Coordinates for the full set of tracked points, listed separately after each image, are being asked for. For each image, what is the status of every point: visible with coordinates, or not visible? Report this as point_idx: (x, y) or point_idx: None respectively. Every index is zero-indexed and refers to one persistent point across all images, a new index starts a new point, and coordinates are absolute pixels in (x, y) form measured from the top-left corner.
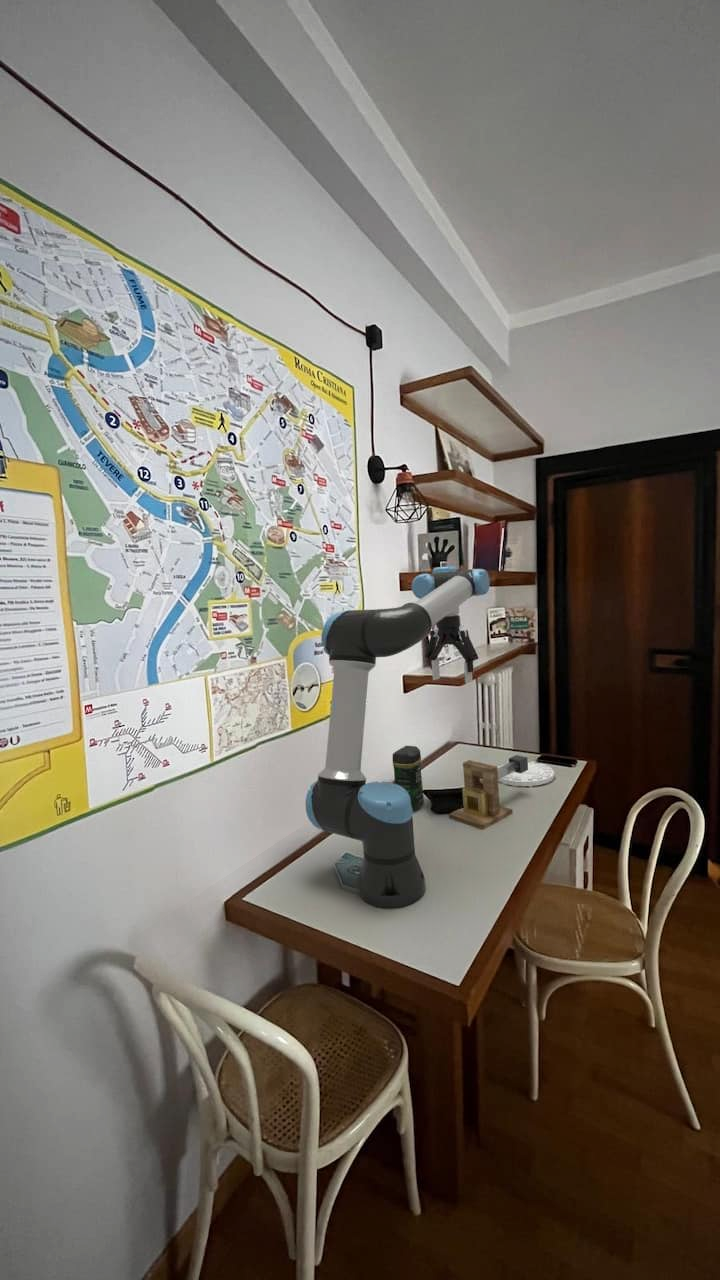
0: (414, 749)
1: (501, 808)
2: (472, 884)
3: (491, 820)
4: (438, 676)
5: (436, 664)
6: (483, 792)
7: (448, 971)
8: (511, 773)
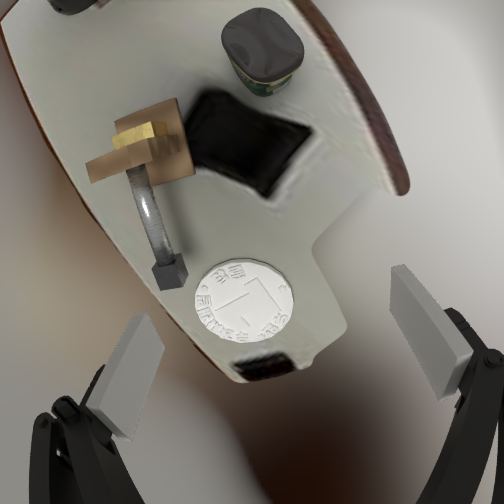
0: (254, 58)
1: None
2: (45, 57)
3: None
4: (396, 309)
5: (432, 357)
6: (117, 144)
7: (7, 18)
8: (244, 286)
